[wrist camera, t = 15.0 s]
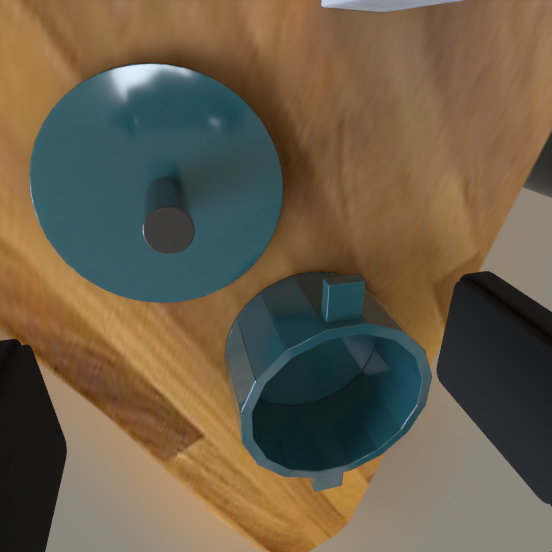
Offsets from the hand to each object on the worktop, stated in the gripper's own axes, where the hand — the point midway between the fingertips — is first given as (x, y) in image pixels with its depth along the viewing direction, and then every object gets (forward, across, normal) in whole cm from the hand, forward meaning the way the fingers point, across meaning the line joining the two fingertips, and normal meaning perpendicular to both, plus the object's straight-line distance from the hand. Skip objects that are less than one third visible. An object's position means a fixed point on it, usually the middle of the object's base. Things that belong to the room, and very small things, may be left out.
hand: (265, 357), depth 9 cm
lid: (+19, +2, +2) cm, 19 cm away
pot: (+20, -8, +16) cm, 27 cm away
